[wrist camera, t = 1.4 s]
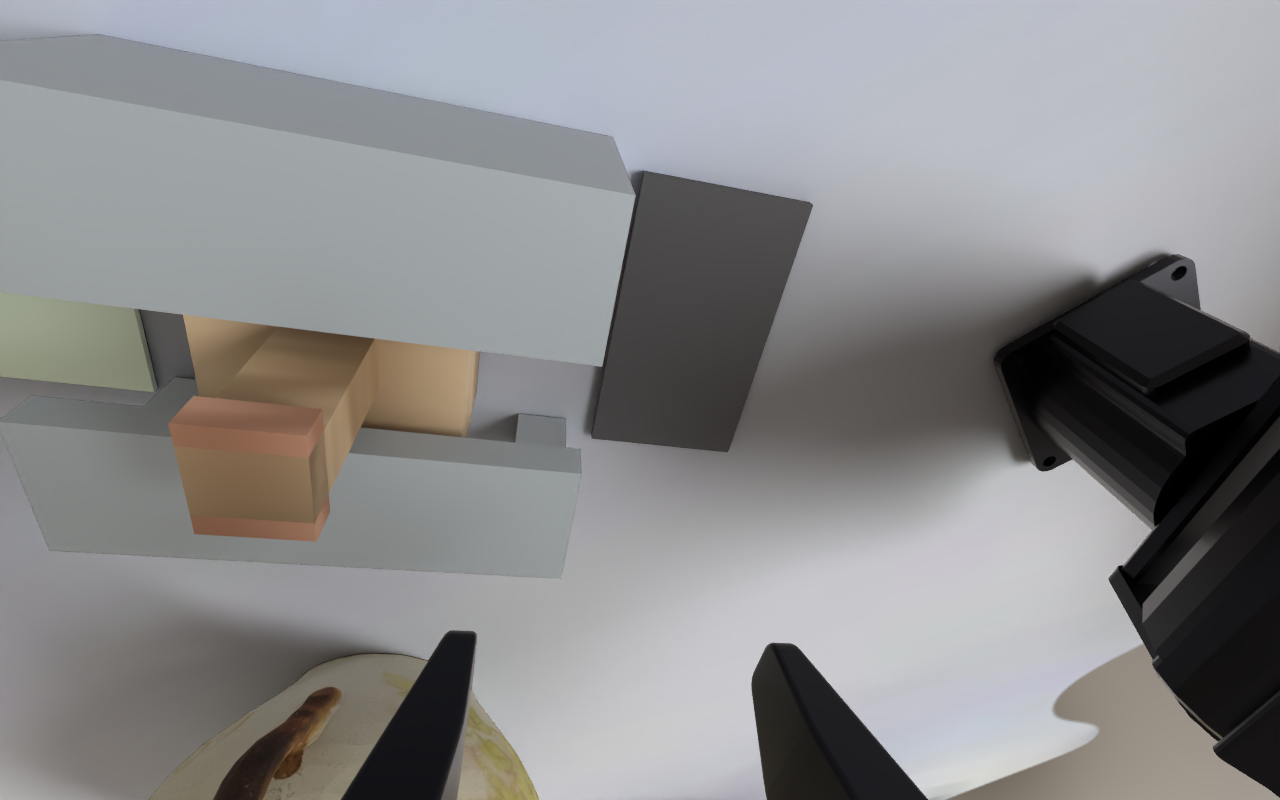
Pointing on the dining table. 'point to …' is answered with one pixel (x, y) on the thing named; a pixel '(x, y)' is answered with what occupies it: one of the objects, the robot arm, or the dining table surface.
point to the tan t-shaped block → (300, 418)
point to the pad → (73, 343)
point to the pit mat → (694, 310)
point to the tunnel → (302, 285)
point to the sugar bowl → (334, 740)
